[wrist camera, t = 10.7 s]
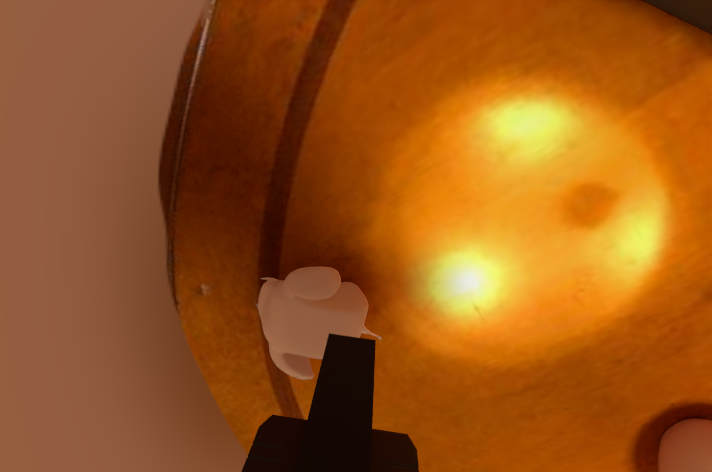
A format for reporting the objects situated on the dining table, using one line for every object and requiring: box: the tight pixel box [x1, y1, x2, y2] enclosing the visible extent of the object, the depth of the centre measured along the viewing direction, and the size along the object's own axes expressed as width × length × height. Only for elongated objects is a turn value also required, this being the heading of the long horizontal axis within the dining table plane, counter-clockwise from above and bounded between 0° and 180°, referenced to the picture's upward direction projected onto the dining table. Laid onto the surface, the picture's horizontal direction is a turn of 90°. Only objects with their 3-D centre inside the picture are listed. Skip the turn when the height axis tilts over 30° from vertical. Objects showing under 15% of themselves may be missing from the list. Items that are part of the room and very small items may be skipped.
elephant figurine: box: [255, 266, 382, 380], centre depth 28 cm, size 7×8×6 cm
